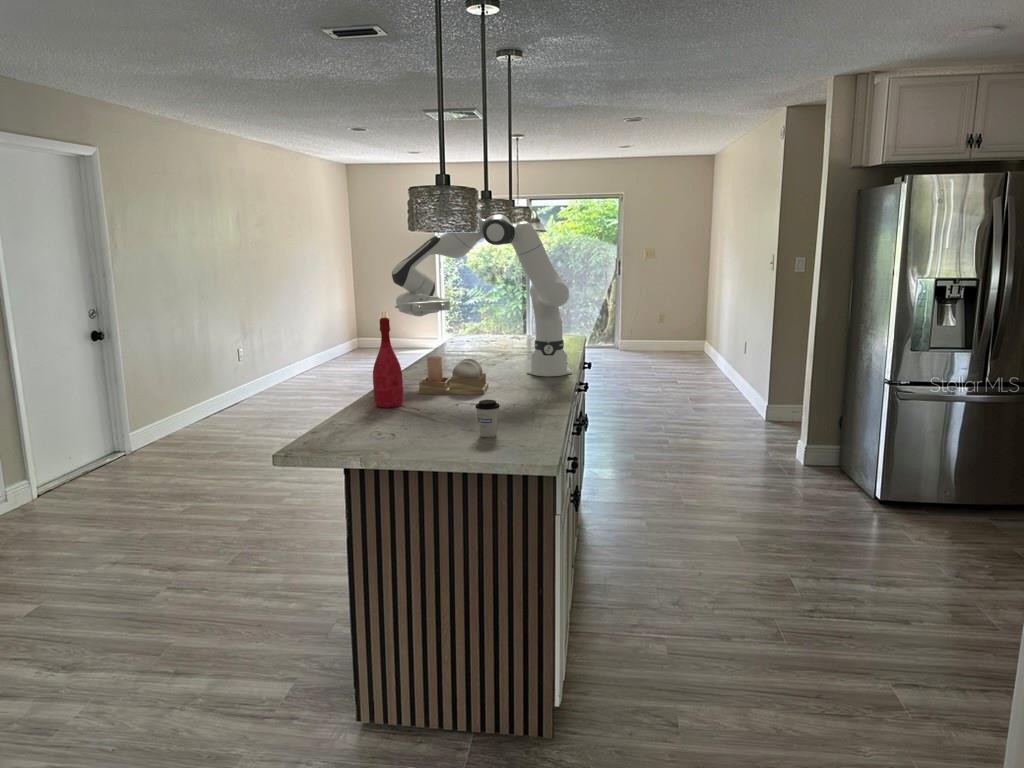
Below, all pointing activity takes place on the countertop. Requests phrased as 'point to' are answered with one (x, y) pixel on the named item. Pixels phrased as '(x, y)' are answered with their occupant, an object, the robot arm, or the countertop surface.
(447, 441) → the countertop surface
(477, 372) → the rack
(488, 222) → the robot arm
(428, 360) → the peach rounded cylinder
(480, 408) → the coffee cup
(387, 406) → the wine bottle
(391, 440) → the countertop surface
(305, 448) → the countertop surface
